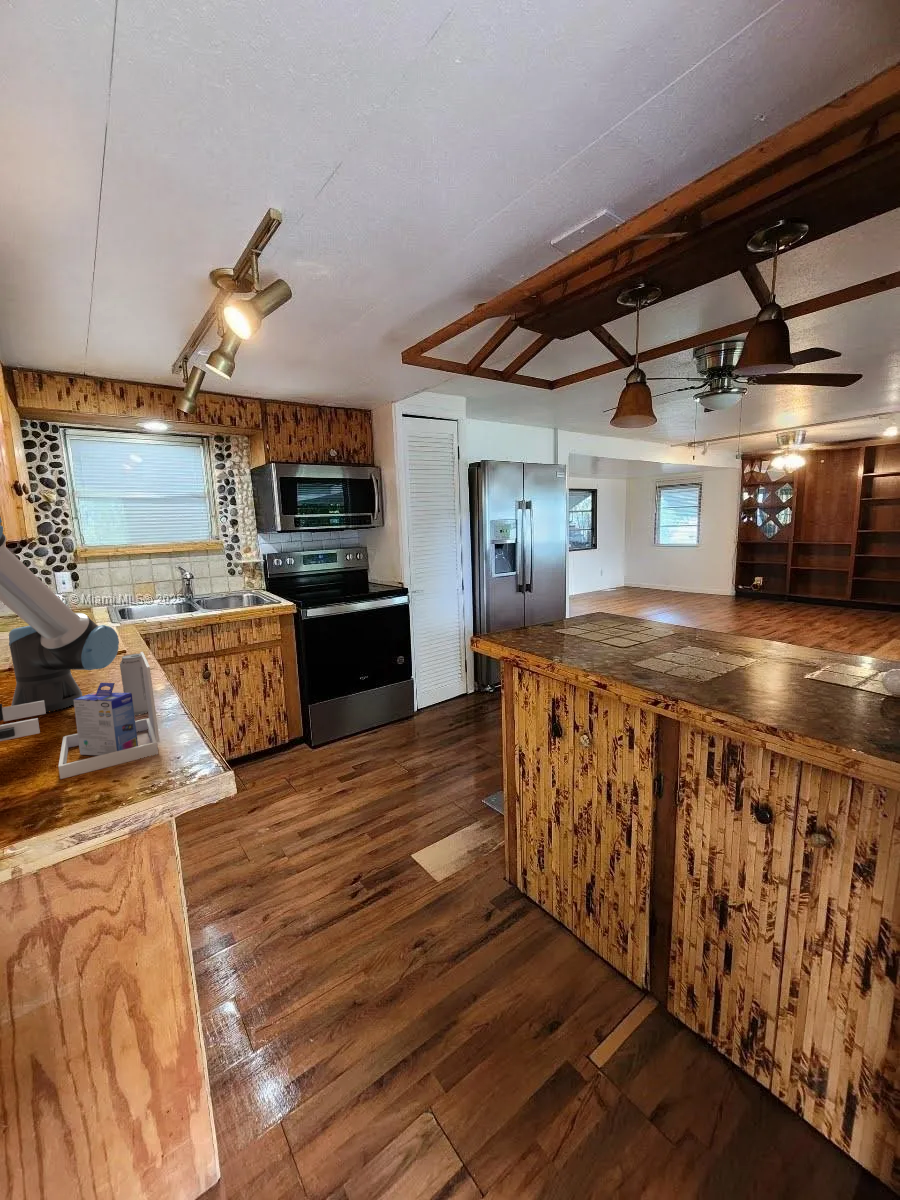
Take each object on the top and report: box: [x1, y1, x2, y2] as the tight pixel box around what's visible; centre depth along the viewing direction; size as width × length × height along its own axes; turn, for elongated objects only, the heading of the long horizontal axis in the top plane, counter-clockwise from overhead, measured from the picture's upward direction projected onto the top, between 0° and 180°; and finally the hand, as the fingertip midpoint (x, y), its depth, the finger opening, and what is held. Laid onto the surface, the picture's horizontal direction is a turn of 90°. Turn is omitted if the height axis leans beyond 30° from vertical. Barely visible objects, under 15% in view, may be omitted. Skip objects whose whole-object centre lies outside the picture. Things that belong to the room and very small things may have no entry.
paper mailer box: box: [58, 651, 160, 780], centre depth 103 cm, size 18×16×18 cm
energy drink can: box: [119, 653, 149, 716], centre depth 126 cm, size 6×6×15 cm
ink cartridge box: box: [73, 682, 139, 756], centre depth 103 cm, size 10×6×14 cm, turn 78°
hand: (42, 715), depth 96 cm, fingers open, 13 cm apart
